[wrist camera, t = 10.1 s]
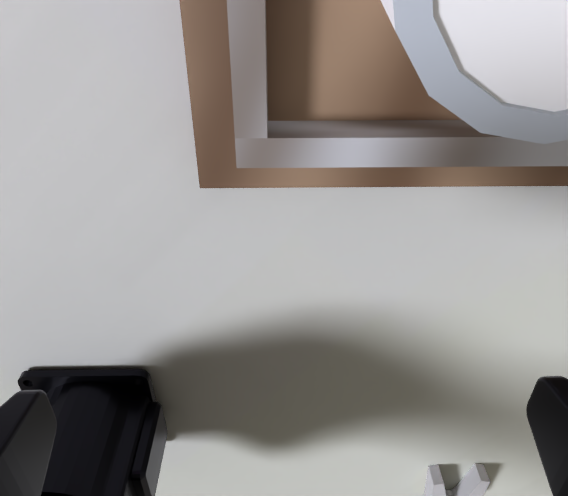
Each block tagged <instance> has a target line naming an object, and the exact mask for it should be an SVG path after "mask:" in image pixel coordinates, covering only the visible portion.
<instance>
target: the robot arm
mask: <svg viewBox="0 0 568 496" xmlns="http://www.w3.org/2000/svg"><path fill="white" fill-rule="evenodd" d="M18 384H19V386H20V389H21V391H19V392H17V393H16V394H14V395H13V396H12V397H11V398H10V399H9V400H7V401H6V402H5V403H4V404H3V405H2V406H1V407H0V496H155V493H156V488H157V483H158V478H159V473H160V468H161V463H162V458H163V453H164V448H165V443H166V438H167V428H166V423H165V419H164V414H163V410H162V406H161V404H160V403H159V402H156V399H155V395H154V391H153V386H152V382H151V378H150V375H149V373H148V372H147V371H145V370H141V369H111V370H29V371H24V372H22V374H21V376H20V378H19V380H18ZM527 418H528V421H529V424H530V427H531V430H532V433H533V436H534V440H535V443H536V446H537V449H538V452H539V455H540V458H541V461H542V464H543V467H544V470H545V473H546V476H547V479H548V482H549V485H550V488H551V491H552V494H553V496H568V379H567V378H565V377H562V376H544V377H541V378H539V379H538V380H537V382H536V385H535V387H534V389H533V392H532V394H531V397H530V399H529V401H528V404H527Z"/></svg>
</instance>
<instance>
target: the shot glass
mask: <svg viewBox="0 0 568 496" xmlns="http://www.w3.org/2000/svg"><path fill="white" fill-rule="evenodd" d="M381 2H382V4H383V7H384V9H385V11H386V13H387V15H388V17H389V19H390V21H391V23H392V25H393V27H394V29H395V31H396V33H397V35H398V37H399V39H400V41H401V43H402V45H403V47H404V49H405V51H406V53H407V55H408V57H409V58H410V60H411V62H412V64H413V66H414V68H415V70H416V72H417V74H418V76H419V78H420V80H421V82H422V84H423V86H424V87H425V89H426V91H427V93H428V95H429V96H430V97H432V98H433V99H434V100H436V101H437V102H438V103H440V104H441V105H443V106H444V107H445V108H447V109H448V110H449V111H451V112H452V113H454V114H455V115H456V116H458V117H459V118H460V119H462V120H463V121H465V122H466V123H467V124H469V125H470V126H472V127H473V128H474V129H476V130H477V131H478V132H480V133H484V134H489V135H495V136H501V137H506V138H512V139H517V140H523V141H529V142H534V143H540V144H548V143H553V142H559V141H564V140H568V0H381Z"/></svg>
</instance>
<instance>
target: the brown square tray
mask: <svg viewBox="0 0 568 496" xmlns="http://www.w3.org/2000/svg"><path fill="white" fill-rule="evenodd" d="M180 9H181V18H182V28H183V37H184V46H185V55H186V64H187V74H188V83H189V92H190V101H191V110H192V120H193V129H194V138H195V147H196V156H197V166H198V175H199V184H200V188H286V187H442V186H568V140H564V141H559V142H553V143H548V144H540V143H534V142H529V141H523V140H517V139H512V138H506V137H501V136H495V135H489V134H484V133H480V132H478V131H477V130H476V129H474V128H473V127H472V126H470V125H469V124H467V123H466V122H465V121H463V120H462V119H460V118H459V117H458V116H456V115H455V114H454V113H452V112H451V111H449V110H448V109H447V108H445V107H444V106H443V105H441V104H440V103H438V102H437V101H436V100H434V99H433V98H432V97H430V96H429V95H428V93H427V91H426V89H425V87H424V86H423V84H422V82H421V80H420V78H419V76H418V74H417V72H416V70H415V68H414V66H413V64H412V62H411V60H410V58H409V57H408V55H407V53H406V51H405V49H404V47H403V45H402V43H401V41H400V39H399V37H398V35H397V33H396V31H395V29H394V27H393V25H392V23H391V21H390V19H389V17H388V15H387V13H386V11H385V9H384V7H383V4H382V2H381V0H180Z"/></svg>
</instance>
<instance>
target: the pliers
mask: <svg viewBox="0 0 568 496" xmlns="http://www.w3.org/2000/svg"><path fill="white" fill-rule="evenodd" d="M489 484H490V480H489V477H488V475H487V472H486V469H485V467H484V464H477V463H474V465H473V466H472V467H471V468H470V470H469V471H468V472H467V473H466V474H465V476H464V477H463V478H462V479H461V481H460V482H459V483H458V484H457V485H456V487H455V488H453V489H452V490H445V487H444V482H443V479H442V475H441V472H440V469H439V465H438V464H436V465H431V466H428V472H427V478H426V484H425V491H424V493H425V496H483V495H484V493H485V491H486V490H487V488H488V486H489Z"/></svg>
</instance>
